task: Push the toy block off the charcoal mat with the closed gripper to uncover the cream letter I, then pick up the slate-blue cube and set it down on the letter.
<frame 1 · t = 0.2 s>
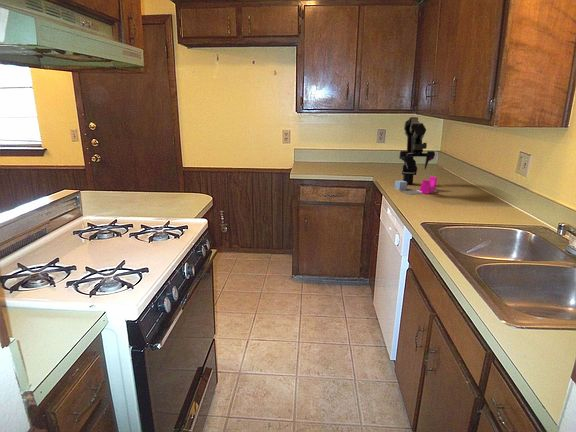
hand: (416, 169, 220), 15 cm above the worktop, tool tilted 30°, fingers open, 9 cm apart
slate blue cube: (400, 189, 237), on the worktop
letter mat: (421, 191, 231), on the worktop
toy block: (426, 191, 232), resting on letter mat
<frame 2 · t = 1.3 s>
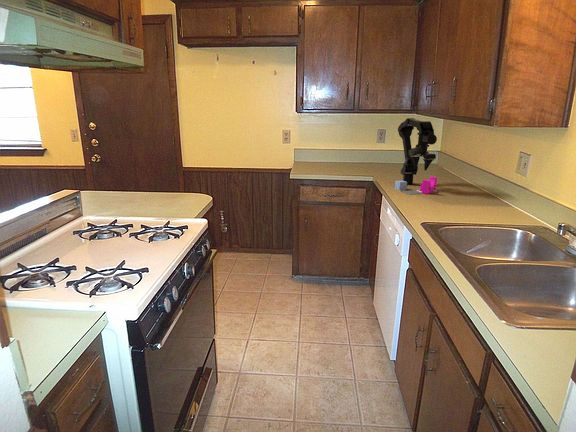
hand: (420, 169, 236), 12 cm above the worktop, tool pointing down, fingers open, 9 cm apart
nothing on the worktop moved.
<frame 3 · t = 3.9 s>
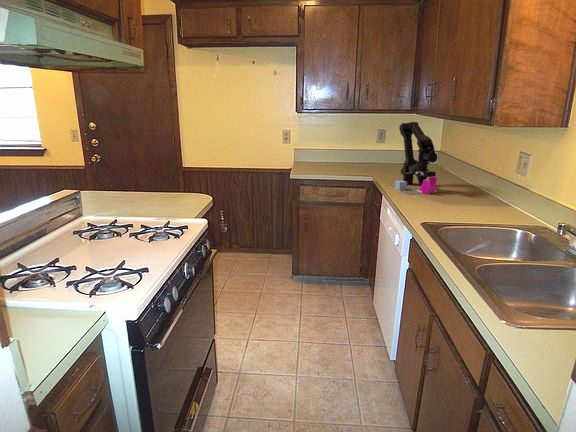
hand: (420, 185, 237), 2 cm above the worktop, tool pointing down, fingers closed
toy block: (426, 191, 232), resting on letter mat, touching gripper
everything else where it was.
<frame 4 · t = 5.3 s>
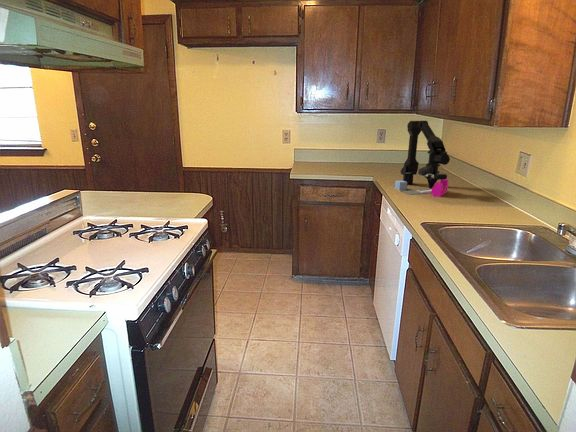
hand: (430, 188, 229), 2 cm above the worktop, tool pointing down, fingers closed
toy block: (437, 193, 226), on the worktop, touching gripper
everything else where it was.
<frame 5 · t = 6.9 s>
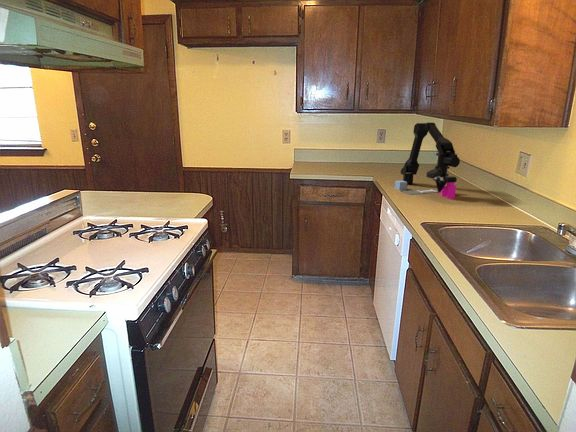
hand: (439, 191, 222), 2 cm above the worktop, tool pointing down, fingers closed
toy block: (447, 196, 222), on the worktop
everything else where it was.
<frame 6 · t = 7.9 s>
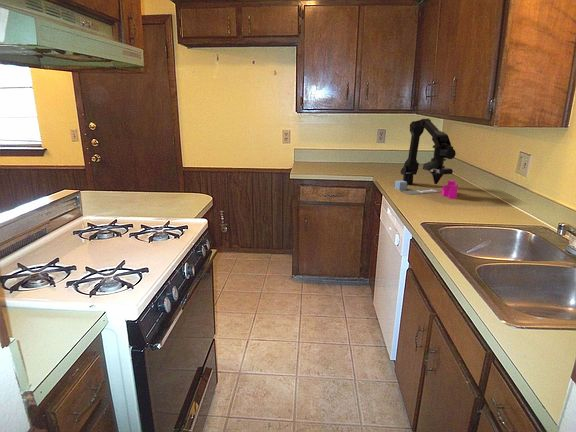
hand: (435, 184, 224), 6 cm above the worktop, tool pointing down, fingers closed
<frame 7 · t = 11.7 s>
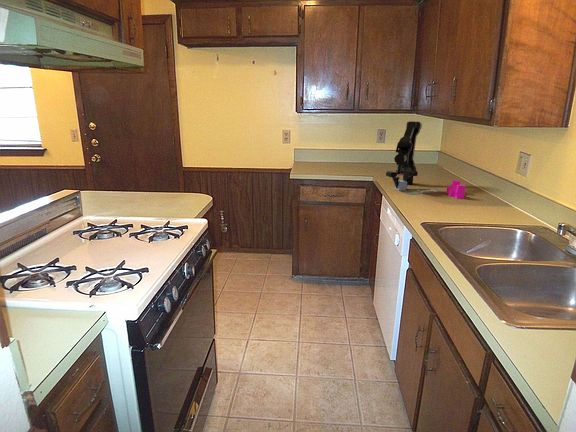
hand: (400, 187, 237), 1 cm above the worktop, tool pointing down, fingers closed on slate blue cube, 5 cm apart
slate blue cube: (400, 189, 237), on the worktop, touching gripper
toy block: (454, 196, 223), on the worktop
when the fingers open (2 cm above the worktop, at t = 16.1 s): slate blue cube drops 1 cm, resting on letter mat.
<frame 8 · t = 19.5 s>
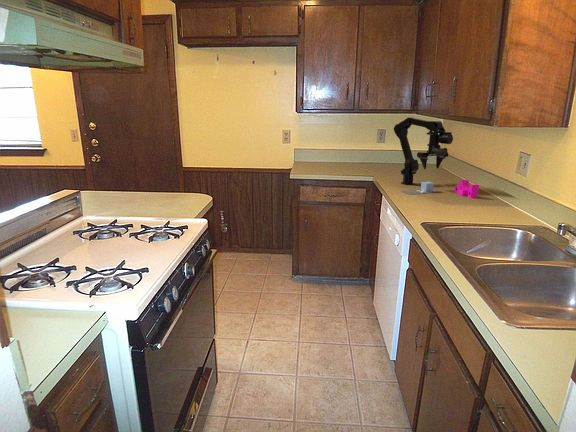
hand: (431, 168, 237), 12 cm above the worktop, tool pointing down, fingers open, 9 cm apart
slate blue cube: (426, 190, 232), resting on letter mat
toy block: (465, 195, 224), on the worktop
at the end: slate blue cube 0.0 cm from the target spot on the letter mat, point 0.2 cm above the letter mat's base; toy block touching worktop; slate blue cube tilted 0° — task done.
